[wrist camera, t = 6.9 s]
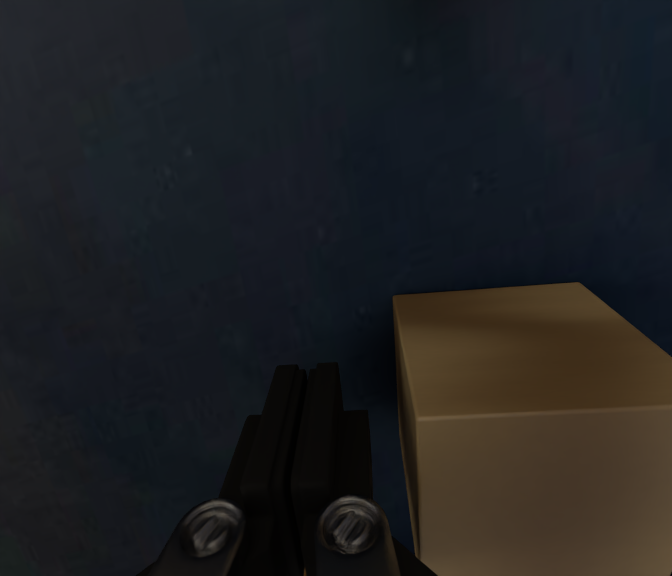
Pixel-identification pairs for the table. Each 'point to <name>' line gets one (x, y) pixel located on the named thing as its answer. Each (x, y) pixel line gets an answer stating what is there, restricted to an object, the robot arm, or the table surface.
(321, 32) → the table surface
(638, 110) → the table surface
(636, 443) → the maple block
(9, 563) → the table surface
